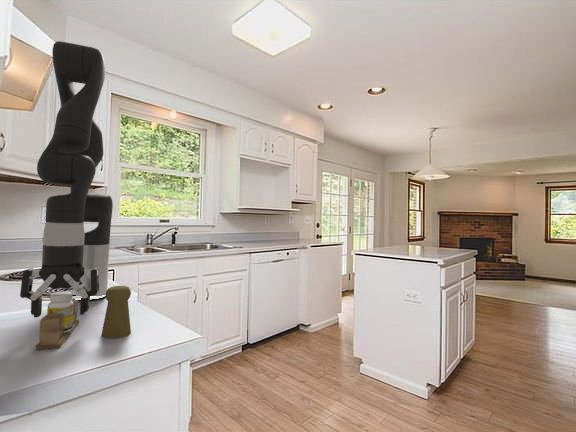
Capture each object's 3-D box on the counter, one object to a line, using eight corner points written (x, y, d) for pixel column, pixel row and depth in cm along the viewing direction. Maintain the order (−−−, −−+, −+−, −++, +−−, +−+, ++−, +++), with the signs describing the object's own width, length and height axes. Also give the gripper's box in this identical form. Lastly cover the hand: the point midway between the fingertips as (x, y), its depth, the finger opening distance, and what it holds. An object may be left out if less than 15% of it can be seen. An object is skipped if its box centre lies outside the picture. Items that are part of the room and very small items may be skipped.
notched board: (59, 324, 77) (60, 300, 77) (78, 323, 78) (80, 299, 78) (35, 350, 63) (37, 320, 63) (59, 348, 64) (60, 319, 64)
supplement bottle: (44, 330, 71) (46, 292, 71) (69, 325, 74) (71, 290, 74) (48, 336, 67) (50, 297, 67) (74, 331, 71) (76, 294, 71)
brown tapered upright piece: (118, 340, 70) (120, 290, 70) (94, 336, 71) (97, 288, 71) (136, 330, 76) (138, 285, 76) (114, 327, 77) (117, 282, 77)
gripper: (103, 241, 77) (100, 308, 77) (32, 240, 72) (28, 311, 72) (97, 245, 70) (93, 318, 70) (17, 244, 65) (13, 323, 65)
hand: (60, 315), depth 71 cm, fingers open, 8 cm apart
